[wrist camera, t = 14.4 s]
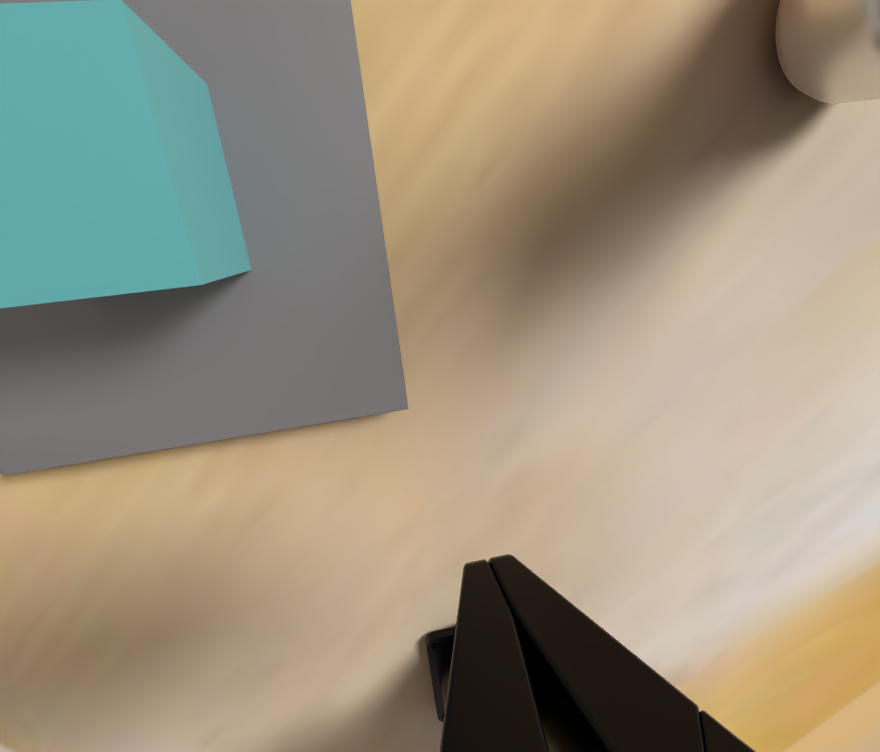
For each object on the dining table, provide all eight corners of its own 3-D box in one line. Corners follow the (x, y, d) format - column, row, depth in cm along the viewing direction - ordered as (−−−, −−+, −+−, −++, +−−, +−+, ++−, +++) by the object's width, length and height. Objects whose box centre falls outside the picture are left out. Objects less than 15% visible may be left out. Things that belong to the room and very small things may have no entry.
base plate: (404, 396, 19) (408, 408, 18) (32, 455, 17) (2, 475, 16) (327, -147, 13) (323, -192, 12) (-252, -147, 11) (-340, -202, 10)
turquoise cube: (251, 269, 15) (200, 284, 10) (77, 289, 14) (-63, 315, 10) (207, 84, 13) (121, -1, 8) (4, 95, 12) (-212, 10, 8)
